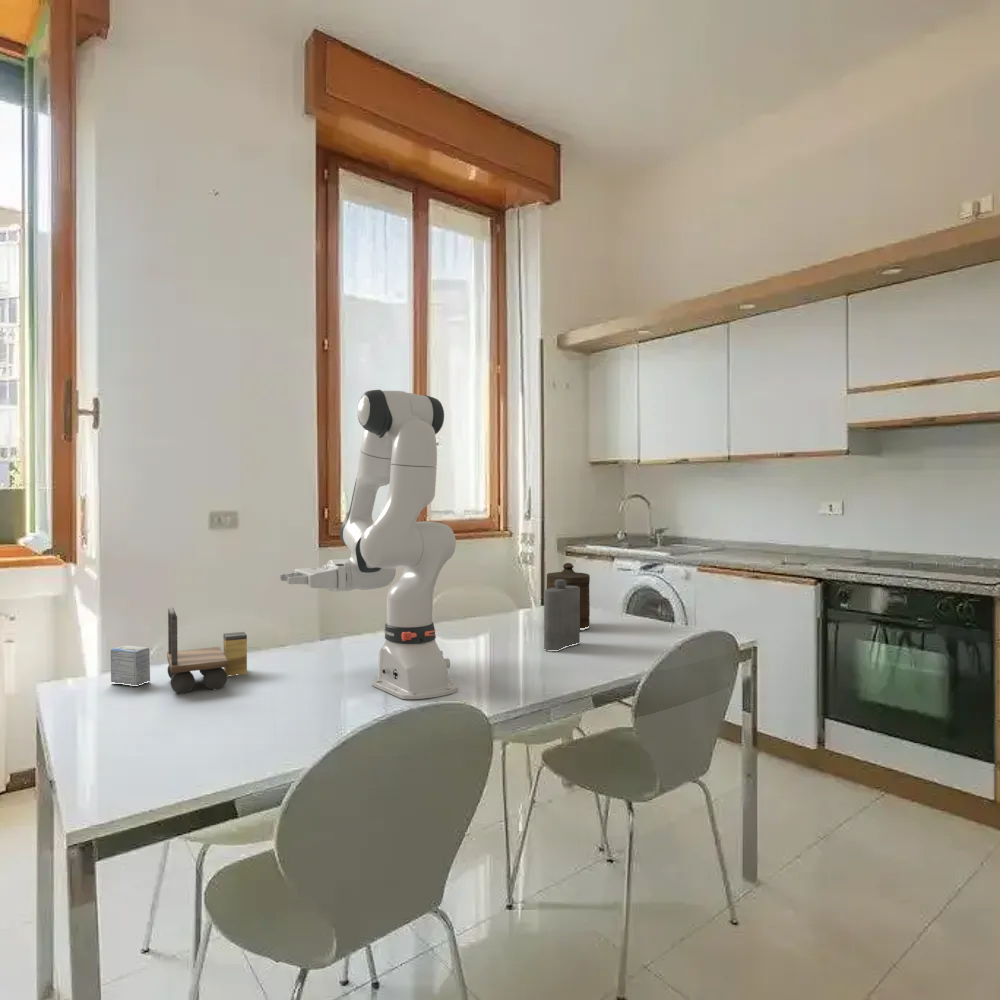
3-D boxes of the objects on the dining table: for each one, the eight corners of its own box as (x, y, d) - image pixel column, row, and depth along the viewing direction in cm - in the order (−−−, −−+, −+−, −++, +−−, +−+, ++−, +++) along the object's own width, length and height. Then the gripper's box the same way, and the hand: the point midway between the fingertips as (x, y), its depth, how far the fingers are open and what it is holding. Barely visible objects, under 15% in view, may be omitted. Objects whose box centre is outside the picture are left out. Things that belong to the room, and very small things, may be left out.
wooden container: (596, 626, 237) (596, 562, 237) (577, 634, 225) (578, 566, 224) (558, 621, 245) (558, 559, 245) (537, 629, 233) (537, 563, 232)
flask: (566, 641, 214) (566, 576, 213) (582, 644, 210) (582, 578, 210) (538, 650, 202) (538, 581, 202) (554, 653, 198) (554, 583, 198)
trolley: (227, 689, 162) (227, 612, 162) (171, 696, 157) (170, 616, 156) (219, 673, 176) (219, 602, 176) (167, 679, 171) (166, 606, 170)
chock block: (246, 674, 176) (246, 634, 175) (225, 676, 173) (225, 636, 173) (244, 670, 180) (244, 631, 179) (223, 672, 177) (223, 633, 177)
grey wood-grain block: (150, 682, 168) (150, 647, 168) (135, 687, 163) (135, 651, 163) (125, 679, 170) (125, 644, 170) (110, 684, 166) (109, 648, 166)
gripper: (326, 561, 197) (276, 564, 191) (346, 566, 179) (291, 569, 173) (326, 583, 197) (276, 587, 191) (346, 590, 179) (292, 595, 173)
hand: (283, 579), depth 182 cm, fingers open, 8 cm apart
